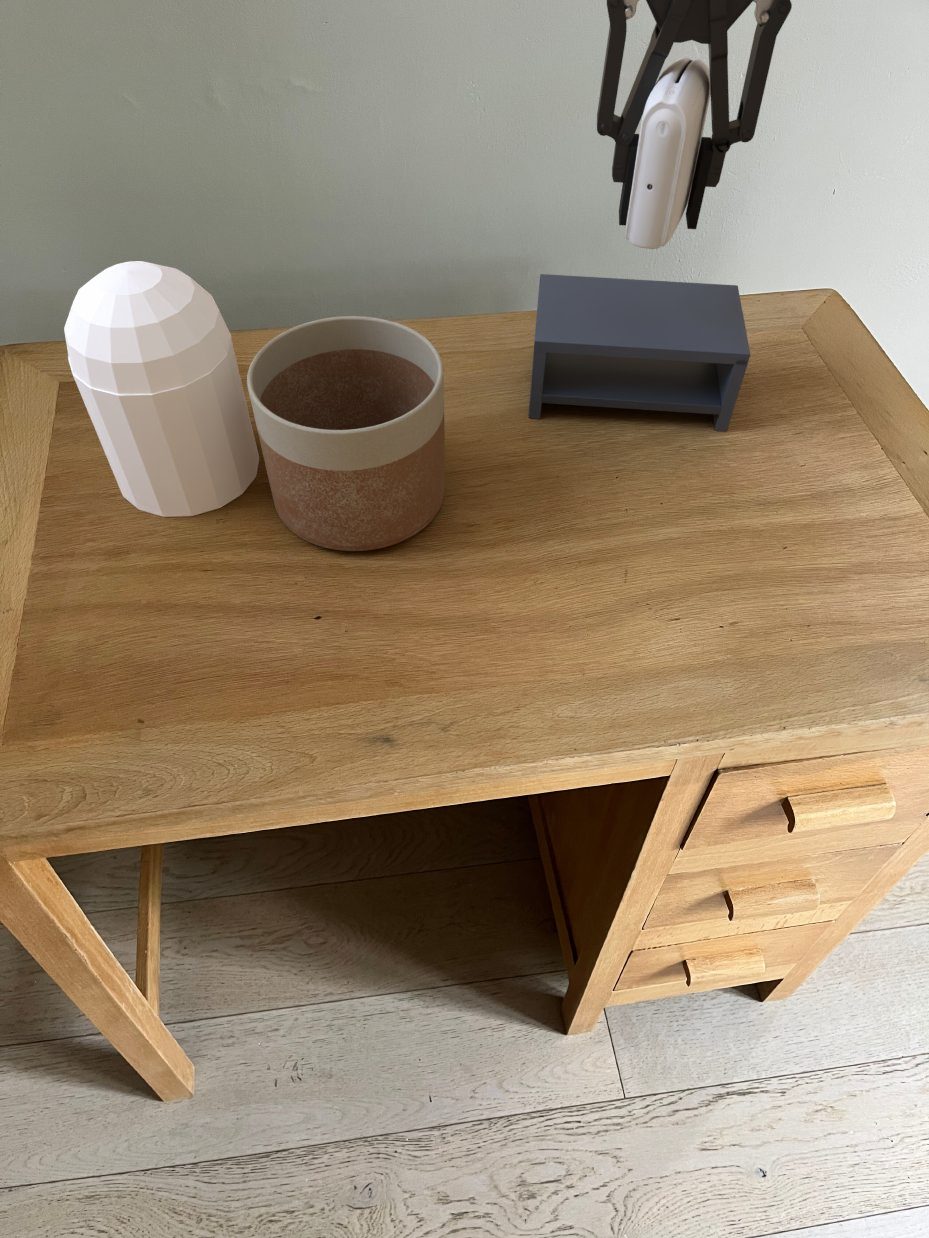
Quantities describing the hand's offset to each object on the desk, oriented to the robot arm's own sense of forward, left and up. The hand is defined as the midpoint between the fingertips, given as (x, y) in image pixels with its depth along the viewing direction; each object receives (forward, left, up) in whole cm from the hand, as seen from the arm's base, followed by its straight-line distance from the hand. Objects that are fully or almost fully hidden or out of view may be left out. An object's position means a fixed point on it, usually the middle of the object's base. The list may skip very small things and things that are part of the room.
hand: (657, 219), depth 76 cm
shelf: (0, 0, -18) cm, 18 cm away
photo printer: (0, 0, 0) cm, 0 cm away
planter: (+25, +19, -18) cm, 36 cm away
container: (+42, +17, -18) cm, 49 cm away
